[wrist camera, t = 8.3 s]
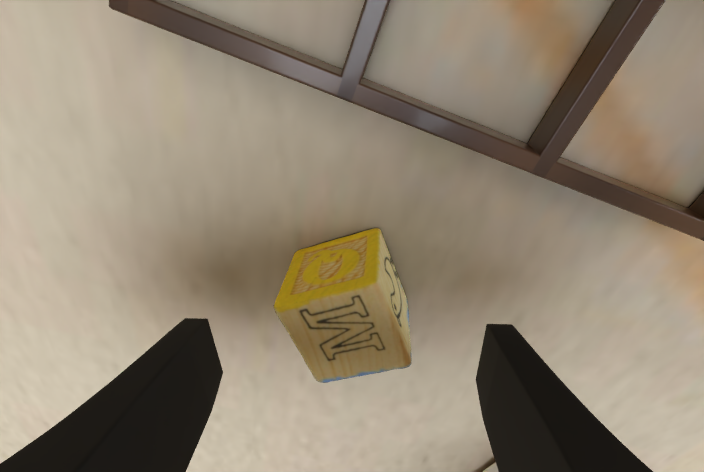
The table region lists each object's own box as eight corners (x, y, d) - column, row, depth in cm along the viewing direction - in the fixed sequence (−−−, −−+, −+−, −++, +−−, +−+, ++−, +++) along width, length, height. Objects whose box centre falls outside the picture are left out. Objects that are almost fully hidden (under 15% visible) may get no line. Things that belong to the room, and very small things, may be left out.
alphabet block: (327, 318, 14) (315, 388, 11) (291, 249, 13) (268, 312, 10) (408, 297, 13) (415, 367, 11) (379, 223, 12) (379, 283, 9)
